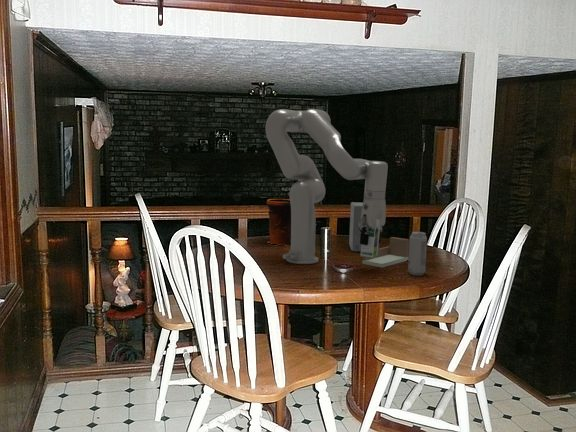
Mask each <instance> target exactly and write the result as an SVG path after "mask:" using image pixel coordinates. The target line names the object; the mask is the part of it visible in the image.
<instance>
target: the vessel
mask: <svg viewBox="0 0 576 432" xmlns="http://www.w3.org/2000/svg"><path fill="white" fill-rule="evenodd" d="M266 206H267V207H268V216H269V220H268V222H269V224H268V225H269V228H268V232H269V241H267V244H268V243H271V244H277V245H285V246H291V204H290V198H287V199H286V198H269V199H267V200H266ZM271 244H270V245H271ZM277 245H276V246H277Z"/></svg>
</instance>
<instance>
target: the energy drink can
mask: <svg viewBox="0 0 576 432" xmlns="http://www.w3.org/2000/svg"><path fill="white" fill-rule="evenodd" d="M426 234H427V233H426V232H422V231H412V232H411V234H410V235H409V254H408V264H407V265H408V266H407V271H408V272H409V275H412V276H423V275H424V274H425V273H426V264H427V263H426V262H427V248H428V247H427V245H428V244H427V243H428V238H427V235H426Z"/></svg>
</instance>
